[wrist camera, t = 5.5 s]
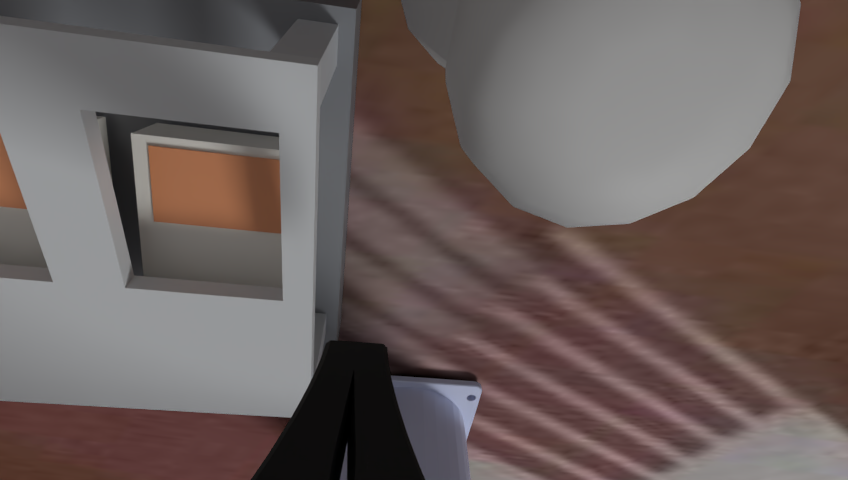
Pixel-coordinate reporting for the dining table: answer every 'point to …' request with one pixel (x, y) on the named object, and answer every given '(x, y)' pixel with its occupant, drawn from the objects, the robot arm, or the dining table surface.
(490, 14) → the salt shaker
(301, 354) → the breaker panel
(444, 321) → the dining table surface
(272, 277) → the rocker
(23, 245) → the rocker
